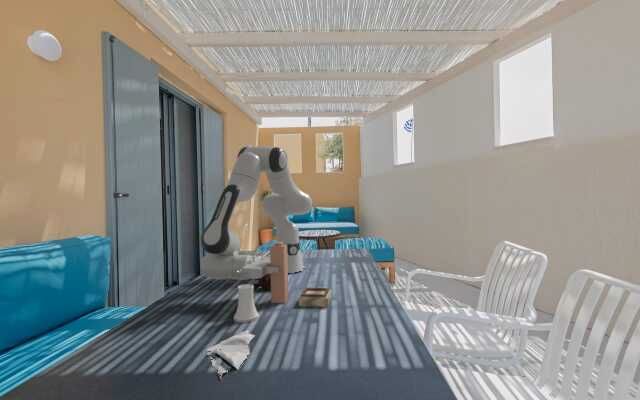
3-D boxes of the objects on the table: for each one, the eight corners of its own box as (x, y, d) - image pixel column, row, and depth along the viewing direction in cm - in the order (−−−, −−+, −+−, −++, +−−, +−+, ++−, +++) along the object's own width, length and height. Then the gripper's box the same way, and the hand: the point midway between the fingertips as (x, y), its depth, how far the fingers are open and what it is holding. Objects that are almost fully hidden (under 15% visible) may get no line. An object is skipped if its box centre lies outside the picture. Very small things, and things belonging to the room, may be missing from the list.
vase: (253, 323, 102) (252, 290, 102) (229, 322, 103) (228, 289, 103) (262, 314, 109) (261, 283, 109) (240, 313, 111) (239, 282, 111)
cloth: (231, 331, 98) (231, 323, 98) (276, 334, 95) (276, 326, 95) (174, 379, 73) (174, 368, 73) (234, 385, 70) (233, 374, 70)
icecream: (288, 271, 142) (255, 273, 146) (281, 270, 135) (247, 272, 139) (289, 288, 140) (255, 290, 144) (282, 289, 133) (247, 290, 137)
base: (298, 305, 117) (298, 294, 117) (304, 297, 127) (304, 286, 127) (327, 306, 116) (327, 295, 116) (331, 297, 125) (331, 287, 125)
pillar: (271, 302, 121) (269, 243, 121) (275, 298, 126) (273, 241, 126) (285, 303, 120) (283, 243, 120) (288, 298, 125) (287, 241, 125)
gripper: (233, 264, 115) (273, 264, 113) (253, 253, 135) (288, 253, 133) (233, 283, 115) (273, 283, 113) (254, 269, 135) (288, 270, 133)
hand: (281, 267), depth 123 cm, fingers closed on pillar, 5 cm apart
